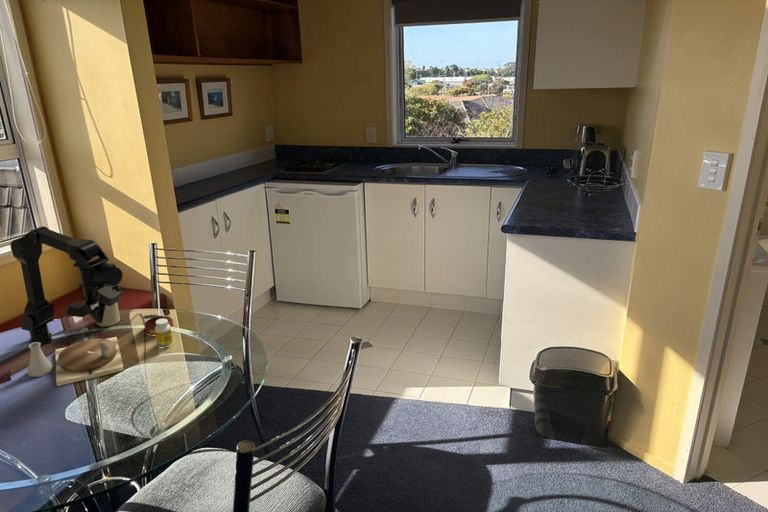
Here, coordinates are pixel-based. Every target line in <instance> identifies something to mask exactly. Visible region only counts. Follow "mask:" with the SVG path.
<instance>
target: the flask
mask: <svg viewBox="0 0 768 512" xmlns="http://www.w3.org/2000/svg"><path fill="white" fill-rule="evenodd" d="M41 345H42V344H41V343H39V342H34V343H31V344H30V343H29V344H28V345H27V347H28V348H29V349H30V350H29V351H30V358H29V363H28V368H27V371H26V375H28V376H29V377H31V378H34V377H35V378H37V377H38V378H40V377H44V376H46V375H48V374H49V373H51V372H52V371H53V369H54V368H55V366H54V365H53V364H52V362H51V361H50V360H49V359H48V358H47V356H45V354H44V353H43V350H42V348H41Z"/></svg>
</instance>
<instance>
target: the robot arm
mask: <svg viewBox="0 0 768 512" xmlns="http://www.w3.org/2000/svg"><path fill="white" fill-rule="evenodd" d="M9 244H10V251H11V252H12V255H13V258H14V259H16V260H17V261H18V262H19V263H20V266H21V272H22V276H23V277H22V278H23V281H24V288H25V292H26V298H27V303H26V305H25V306H24V309H23V310H24V311H23V312H24V313H23V314H24V315H23V316H24V317H23V319H22V320H21V321H20V323H19V326H20V328H21V330H22V331H23V330H24V331H28V332H29V336H30V338H29V345H30V344H31V343H34V342H39V343H41V345H44V344H49V343H52V340H53V339H52V338H53V337H52V332H50V330H49V325H48V324H49V323H51V322H53V321H54V316H55V313H56V310H55V309H54V304H53V303H52V302H50V301H49V300H47V299H46V296H45V291H44V286H43V279H42V275H41V269H40V268H41V267H40V262H39V260H40V259H41V255H42V253H43V245H46V246H48V247H51V248H52V249H56V250H58V251H61V252H63V253H65V254H67V255H68V257H69V259H71V260H72V261H74V263H73V264H72V266H73V267H75V268H78V270H79V275H80V281H81V283H80V284H79V285H78V286H79V288H81V289H82V290H83V295H81V300H85V301H84V302H80V301H75V302H73V303H72V304H70V305H68V306H66V308H65V311H66V315H67V316H71V317H77V318H84V317H85V316H87V315H90V316H91V317H92V318H93V319H94V321H97V322H96V324H97V323H102V321H103V316H104V311H105V308H106V306H112V305H113V304H115V303H116V302H117V303H118V302H119V301H120V297H122V296H123V295H124V292H123V287H122V285H120V283H121V282H122V279H123V271H122V270H121V268H119V267H116V264H115V263H114V262H113V263H109V261H110V259H109V257H108V256H107V254H106V253H105V252H104V250H103V249H102V248H101V247H100V245H99V244H98V243H97V242H96V241H95V240H93V239H86V238H72V237H70V236H67V235H65V234H62V233H60V232H58V231H54V230H51V229H49V227H47V226H42V225H41V226H39V227H36V228H33V229H31V230H30V231H28V233H26V234H24V235H22V236H21V237H19V238H15V239H13V240H12V241H11V242H10V243H9ZM106 284H107V285H106Z"/></svg>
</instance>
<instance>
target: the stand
mask: <svg viewBox="0 0 768 512" xmlns="http://www.w3.org/2000/svg"><path fill="white" fill-rule="evenodd" d="M106 339H107V340H110V341H112V342H113V343H114V344H115V346H116V352H117V353H116V356H115V357H114V358H113V359H112V360H111V361H110V362H109V363H107V364H105V365H103V366H101V367H99V368H96V369H93V370H88V371H82V372H72V371H67V370H64V369H62V368H61V367H60V365H59V360H58V356H59V354H60V352H61V351H62V350H64V349H65V348H66V347H67V346H65V347H61V348H57V349H55V380H56V386H57V387H60V386H64V385H69V384H73V383H77V382H81V381H85V380H89V379H93V378H99V377H102V376H103V377H104V376H107V375H111V374H115V373H119V372H123V371H125V369H124V364H123V359H122V355H121V350H120V347H119V341H118V337H117V336H114V337H108V338H106Z"/></svg>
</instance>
